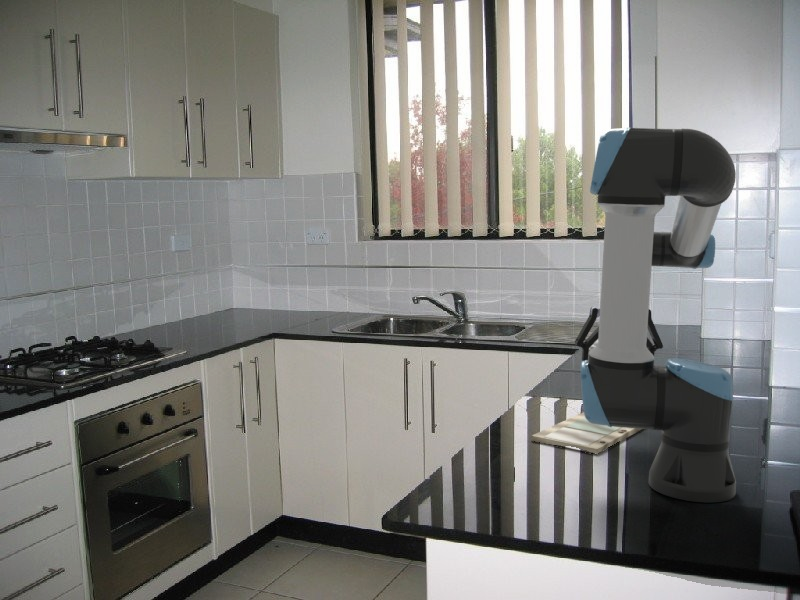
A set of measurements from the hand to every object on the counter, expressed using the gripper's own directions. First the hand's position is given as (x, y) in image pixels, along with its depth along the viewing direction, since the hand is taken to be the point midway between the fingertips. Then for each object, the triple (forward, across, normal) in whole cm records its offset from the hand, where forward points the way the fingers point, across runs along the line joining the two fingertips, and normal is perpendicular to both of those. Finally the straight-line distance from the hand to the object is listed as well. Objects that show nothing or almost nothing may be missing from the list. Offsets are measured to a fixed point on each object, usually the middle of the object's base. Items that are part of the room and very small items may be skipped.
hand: (616, 377), depth 198 cm
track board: (+11, +7, +9) cm, 15 cm away
